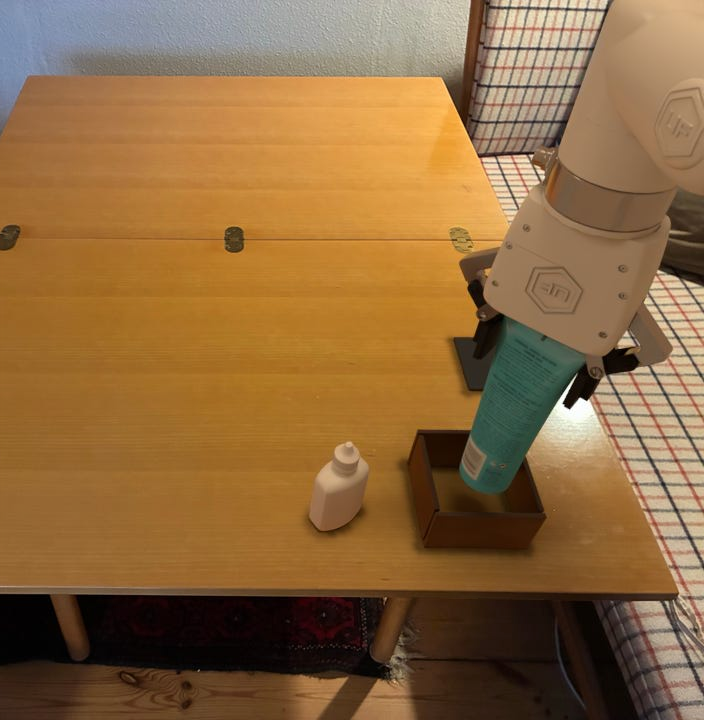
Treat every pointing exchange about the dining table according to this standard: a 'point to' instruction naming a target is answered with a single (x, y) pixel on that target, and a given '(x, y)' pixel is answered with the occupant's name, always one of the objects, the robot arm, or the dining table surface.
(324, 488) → the eye dropper bottle
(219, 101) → the dining table surface
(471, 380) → the mat
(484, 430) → the tube
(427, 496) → the tube holder
